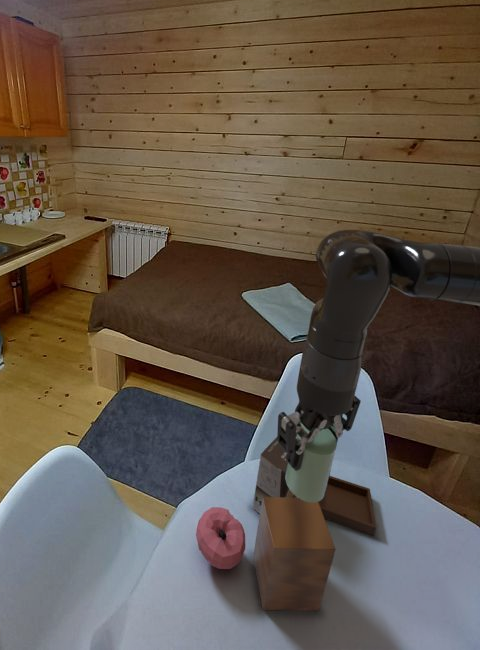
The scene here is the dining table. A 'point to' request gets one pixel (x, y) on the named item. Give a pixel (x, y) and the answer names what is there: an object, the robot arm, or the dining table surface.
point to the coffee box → (271, 475)
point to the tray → (348, 505)
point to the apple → (220, 538)
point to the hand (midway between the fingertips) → (310, 457)
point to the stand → (292, 554)
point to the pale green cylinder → (313, 467)
